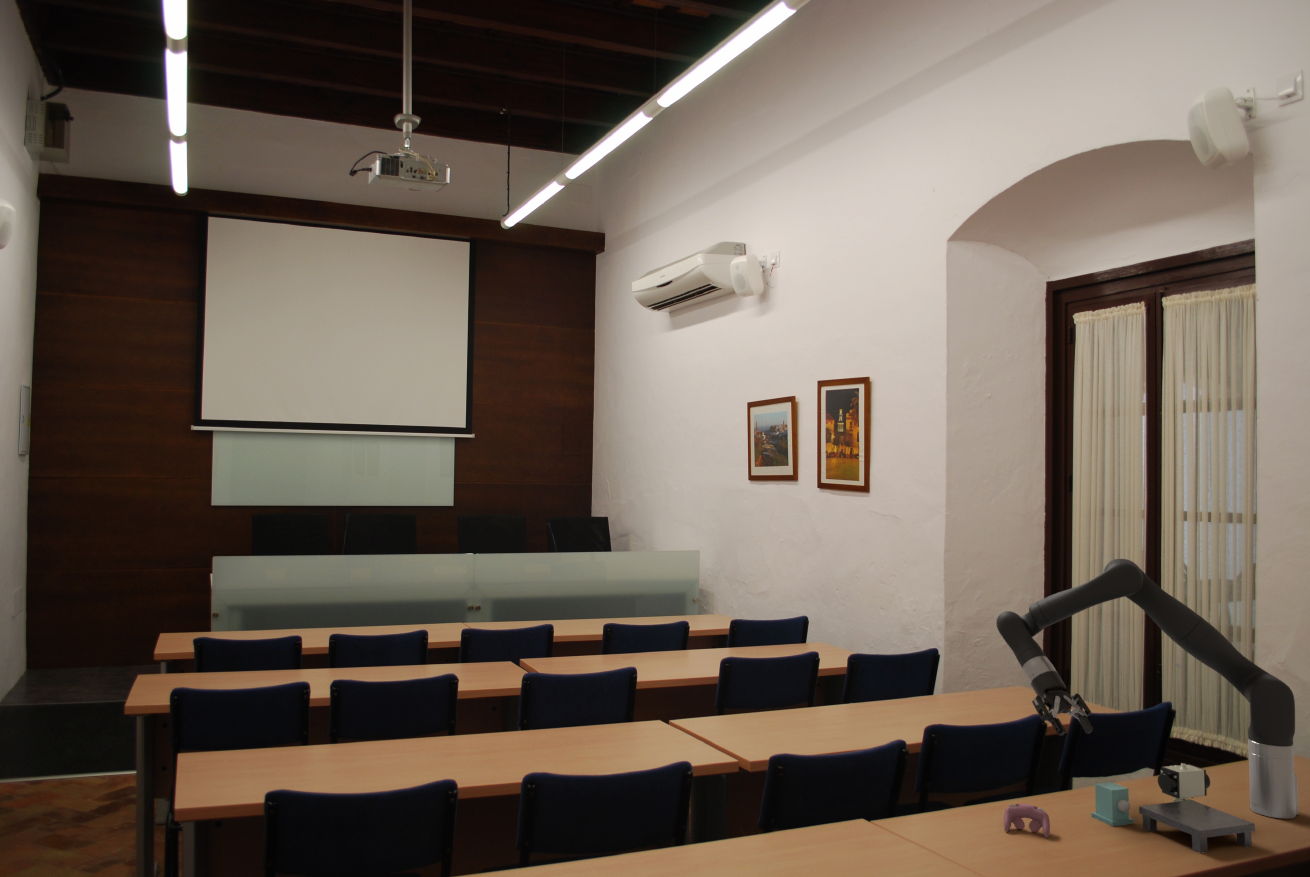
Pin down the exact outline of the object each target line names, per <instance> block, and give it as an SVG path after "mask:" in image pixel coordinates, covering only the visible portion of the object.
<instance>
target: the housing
mask: <svg viewBox="0 0 1310 877" xmlns="http://www.w3.org/2000/svg"><path fill="white" fill-rule="evenodd" d="M1094 786H1095V787H1094V788H1095V811H1094V812H1091V813H1090V814H1091V818H1092V819H1095V820H1098V821H1100V822H1102V823H1105V824H1106V825H1109V826H1111V827H1116V826H1124V825H1125V826H1126V825H1133V824H1134V823H1135V820H1134V818H1132V817H1130V810H1131V804H1130V802H1129V801H1130V800H1129V799H1130V798H1129V788H1128V787H1125V786H1123V785H1121V784H1118V783H1115V782H1112V781H1110V782H1099V783H1095V785H1094Z"/></svg>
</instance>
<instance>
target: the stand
mask: <svg viewBox="0 0 1310 877" xmlns="http://www.w3.org/2000/svg"><path fill="white" fill-rule="evenodd" d="M1193 800H1194V799H1193ZM1193 800H1192V799H1190V800H1187V801H1179V802H1174V801H1172V802H1164V803H1163V802H1162V803H1155V804H1147V805H1145V804H1144V805H1139V806H1138V808H1139V809H1138V812H1139V814H1140V815H1142V829H1143V830H1145V831H1147V832H1158V822H1160V823H1162V824H1165V825H1167V826H1169V827H1172V828H1174V829H1177V830H1178V831H1181V832H1184V833H1186V834H1189V835H1191V845H1192V846H1191V850H1192V851H1193V852H1196V851H1197V852H1196V853H1198V852H1199V854H1203V853H1202V852H1207V853H1208V838H1213V837H1220V836H1221V837H1222V836H1227V835H1228V836H1229V835H1236V838H1235V839H1236V844H1237V845H1239V846H1242V847H1244V848H1247V847H1248V848H1249V847H1253V845H1252V844H1253V842H1252V841H1253V840H1252V832H1255V831H1256V823H1255V822H1251V821H1249V820H1247V819H1244V818H1241V817H1238V816H1236V815H1233V814H1231V813H1228V812H1224V811H1223V810H1219V809H1217V808H1214V807H1211V806H1208V805H1207V804H1203V803H1201V802H1197V801H1195V800H1194V801H1193Z"/></svg>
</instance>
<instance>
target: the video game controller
mask: <svg viewBox="0 0 1310 877" xmlns="http://www.w3.org/2000/svg"><path fill="white" fill-rule="evenodd" d="M1024 818H1025V819H1029V820H1031V821H1029V824H1028V828H1029V829H1030V831H1031V832H1032V831H1033V832H1032V833H1038V832H1039V831H1040V829H1041V828H1042V833H1043V836H1044V838H1045V839H1048V838H1049V837H1050V833H1051V832H1050V831H1051V823H1050V817H1049V814H1048V813H1047V812H1046V811H1045V810H1044V809H1043V808H1041V807H1038V806H1036V805H1032V804H1028V803H1027V804H1026V803H1013V804H1009V806H1007V807H1006V808H1005V810H1004V813H1003V828H1004V832H1006V831H1008V832H1009V831H1010V829H1011V828H1012V827H1011V826H1012V824H1013V825H1014V827H1015V828H1016V829H1017V830H1018V829H1022V830H1024V829H1025V826H1026V824H1025V821H1024V820H1023V819H1024Z"/></svg>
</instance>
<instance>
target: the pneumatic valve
mask: <svg viewBox="0 0 1310 877" xmlns="http://www.w3.org/2000/svg"><path fill="white" fill-rule="evenodd" d="M1157 784H1158V786H1159V788H1160V790H1161V794H1165V795H1167V796H1169V797H1170V796H1171V797H1173V799H1172V802H1179V801H1187V800H1191V799H1193V801H1195V800H1194V799H1195V798H1197V797H1205V796H1206V797H1207V795H1208V794H1207V792H1208V790H1207V789H1209V787H1210V786H1211V779H1210V776H1209V775H1208V773H1207V770H1206V769H1204V768H1201V767H1198V766H1196V765H1192V764H1186V763H1185V762H1184V763H1183V762H1182V763H1180V765H1177V764H1174V765H1169V766H1167V765H1166V766H1161V767H1160V774H1159V775H1158V776H1157ZM1188 798H1191V799H1188Z"/></svg>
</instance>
